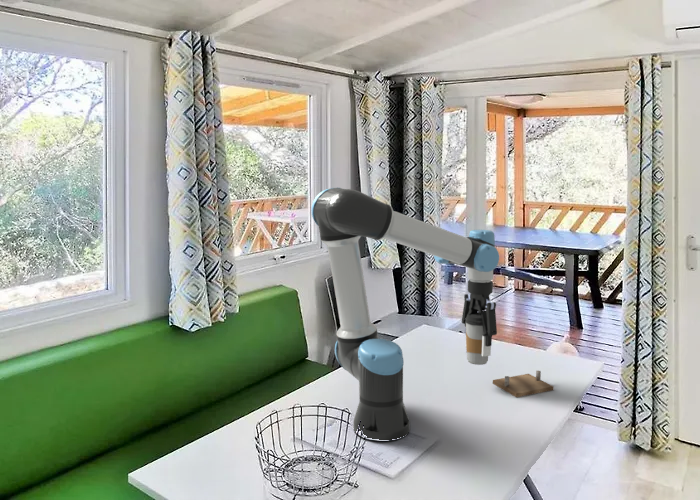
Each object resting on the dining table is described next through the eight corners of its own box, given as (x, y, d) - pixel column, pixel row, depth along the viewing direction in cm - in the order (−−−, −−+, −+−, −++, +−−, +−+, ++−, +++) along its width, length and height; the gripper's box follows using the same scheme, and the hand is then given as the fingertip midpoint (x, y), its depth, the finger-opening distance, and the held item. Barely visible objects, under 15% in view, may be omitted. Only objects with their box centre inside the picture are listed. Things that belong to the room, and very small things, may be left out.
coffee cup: (491, 367, 175) (493, 319, 173) (463, 365, 176) (465, 317, 174) (490, 358, 183) (492, 312, 181) (463, 356, 184) (465, 311, 182)
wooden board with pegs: (516, 397, 173) (516, 384, 172) (492, 383, 184) (492, 371, 184) (553, 390, 178) (553, 377, 177) (528, 377, 189) (528, 364, 188)
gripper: (511, 285, 168) (508, 360, 171) (471, 273, 187) (469, 340, 190) (490, 287, 165) (487, 363, 168) (451, 275, 184) (449, 343, 187)
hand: (477, 351), depth 179 cm, fingers closed on coffee cup, 8 cm apart
